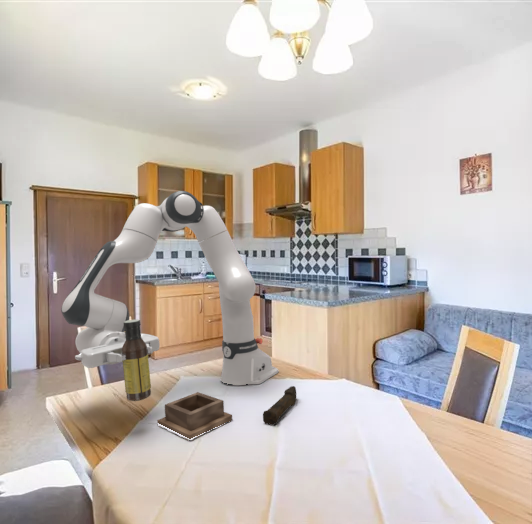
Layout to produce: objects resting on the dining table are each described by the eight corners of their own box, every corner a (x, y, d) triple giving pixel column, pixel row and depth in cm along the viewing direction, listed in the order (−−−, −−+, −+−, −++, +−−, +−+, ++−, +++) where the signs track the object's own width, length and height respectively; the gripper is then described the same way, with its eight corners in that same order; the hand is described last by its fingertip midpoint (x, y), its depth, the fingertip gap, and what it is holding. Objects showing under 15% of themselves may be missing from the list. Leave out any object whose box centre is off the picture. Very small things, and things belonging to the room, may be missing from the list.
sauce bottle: (148, 390, 100) (143, 317, 99) (153, 398, 94) (148, 320, 94) (123, 396, 97) (118, 320, 96) (127, 404, 91) (122, 323, 91)
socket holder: (199, 407, 109) (198, 389, 109) (232, 420, 100) (231, 400, 100) (157, 425, 98) (156, 405, 98) (190, 441, 89) (189, 418, 89)
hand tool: (276, 427, 95) (275, 409, 95) (262, 424, 97) (261, 407, 97) (304, 400, 112) (303, 385, 112) (292, 398, 114) (291, 383, 114)
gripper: (71, 344, 96) (95, 352, 87) (143, 329, 111) (169, 334, 102) (72, 368, 96) (97, 378, 87) (144, 350, 111) (171, 357, 102)
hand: (137, 354), depth 94 cm, fingers closed on sauce bottle, 6 cm apart
